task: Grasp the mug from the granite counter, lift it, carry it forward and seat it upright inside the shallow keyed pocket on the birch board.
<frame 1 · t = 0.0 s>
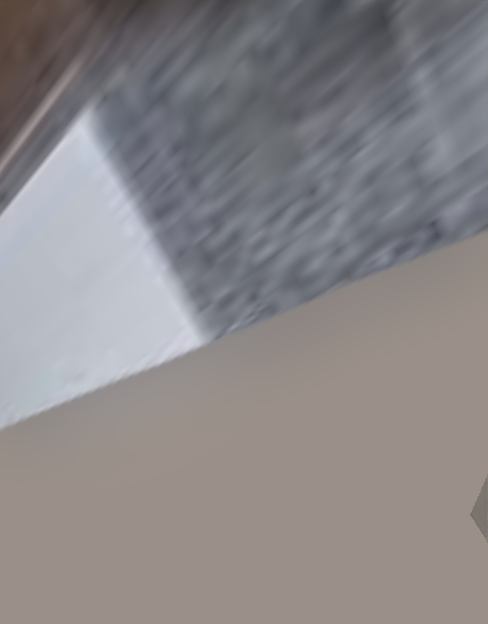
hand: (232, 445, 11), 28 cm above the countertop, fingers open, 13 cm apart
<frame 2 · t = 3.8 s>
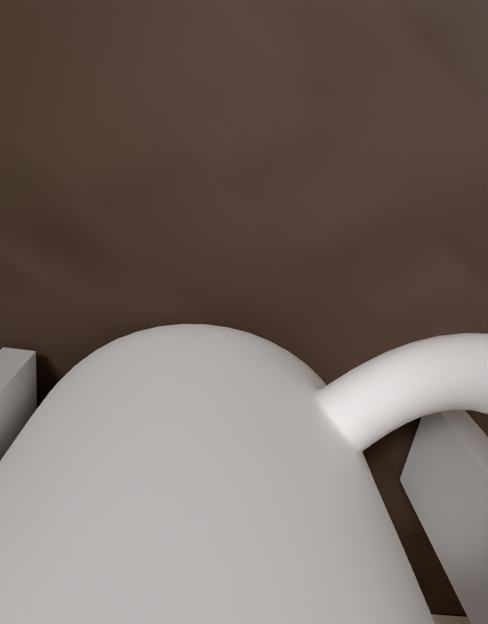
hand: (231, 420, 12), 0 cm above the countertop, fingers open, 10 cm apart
mug: (249, 410, 12), on the countertop, touching gripper
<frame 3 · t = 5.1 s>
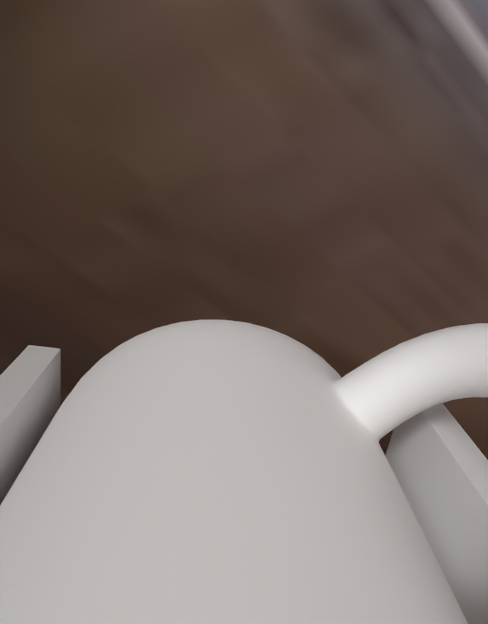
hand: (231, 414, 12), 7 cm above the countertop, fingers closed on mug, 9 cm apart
mug: (265, 403, 12), point 6 cm above the countertop, touching gripper
when the fingers open (3 cm above the countertop, at t = 10.0 s): mug drops 1 cm, resting on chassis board.
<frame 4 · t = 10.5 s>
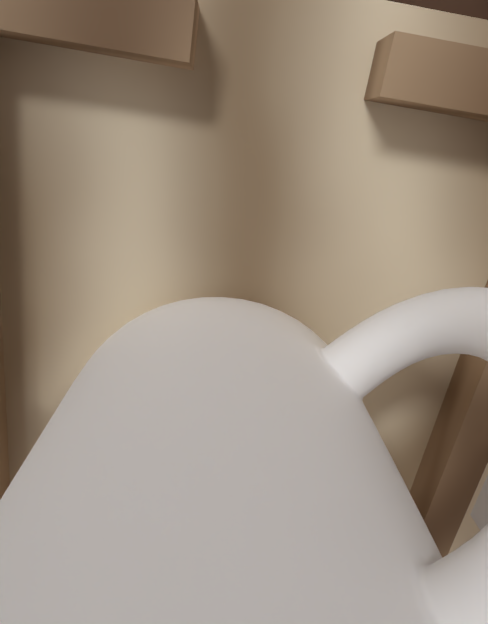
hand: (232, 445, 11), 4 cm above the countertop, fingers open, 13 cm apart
mug: (262, 376, 13), point 1 cm above the countertop, touching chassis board
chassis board: (199, 361, 14), on the countertop
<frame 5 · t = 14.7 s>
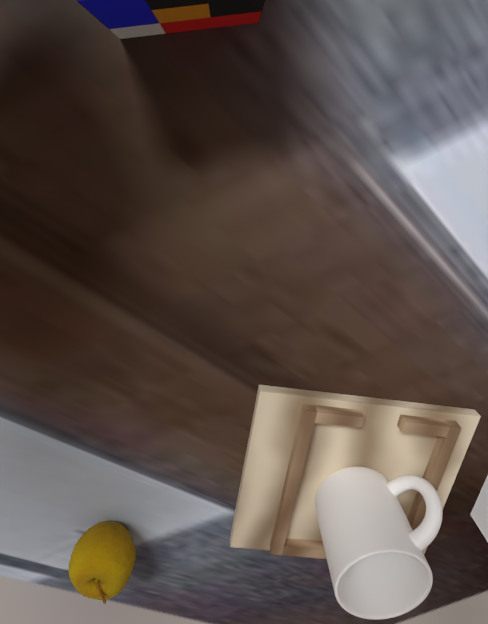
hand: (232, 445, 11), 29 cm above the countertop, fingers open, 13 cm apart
apple: (113, 526, 49), on the countertop
mug: (366, 483, 47), point 1 cm above the countertop, touching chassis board
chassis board: (345, 477, 48), on the countertop
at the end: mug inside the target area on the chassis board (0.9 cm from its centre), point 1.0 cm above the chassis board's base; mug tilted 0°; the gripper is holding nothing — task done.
